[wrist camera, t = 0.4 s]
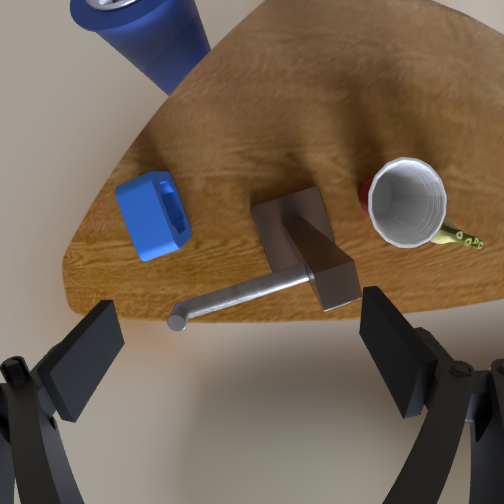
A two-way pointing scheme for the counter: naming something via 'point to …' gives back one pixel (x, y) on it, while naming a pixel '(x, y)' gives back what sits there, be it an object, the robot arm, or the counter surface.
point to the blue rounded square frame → (153, 214)
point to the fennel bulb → (455, 235)
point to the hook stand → (287, 259)
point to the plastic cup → (405, 202)
